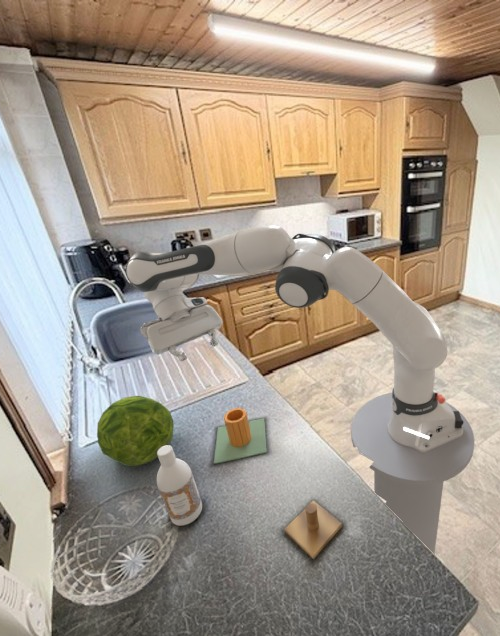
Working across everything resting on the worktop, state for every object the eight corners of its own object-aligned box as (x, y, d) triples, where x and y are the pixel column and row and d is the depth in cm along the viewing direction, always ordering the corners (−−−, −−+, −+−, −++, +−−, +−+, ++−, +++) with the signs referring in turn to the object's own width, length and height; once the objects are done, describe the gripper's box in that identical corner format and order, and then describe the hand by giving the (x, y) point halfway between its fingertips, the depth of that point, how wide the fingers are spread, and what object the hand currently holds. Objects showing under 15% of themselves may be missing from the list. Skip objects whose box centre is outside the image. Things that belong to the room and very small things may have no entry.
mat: (264, 419, 109) (264, 418, 109) (266, 452, 97) (266, 451, 96) (217, 428, 106) (217, 427, 106) (214, 464, 94) (213, 463, 94)
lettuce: (159, 414, 113) (129, 374, 105) (194, 437, 98) (162, 392, 90) (106, 456, 102) (67, 415, 94) (136, 489, 88) (94, 444, 80)
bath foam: (169, 531, 77) (143, 467, 69) (172, 504, 83) (148, 443, 75) (202, 520, 79) (181, 457, 71) (203, 495, 85) (183, 434, 76)
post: (313, 502, 82) (311, 482, 79) (342, 526, 77) (340, 505, 74) (284, 531, 76) (280, 511, 73) (313, 559, 71) (310, 538, 68)
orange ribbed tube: (251, 429, 104) (246, 406, 100) (251, 444, 99) (246, 420, 95) (230, 434, 103) (224, 410, 99) (229, 449, 98) (223, 424, 94)
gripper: (137, 320, 90) (164, 365, 88) (209, 295, 104) (234, 334, 102) (136, 330, 94) (161, 373, 93) (205, 306, 108) (228, 342, 107)
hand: (200, 352), depth 98 cm, fingers open, 8 cm apart
